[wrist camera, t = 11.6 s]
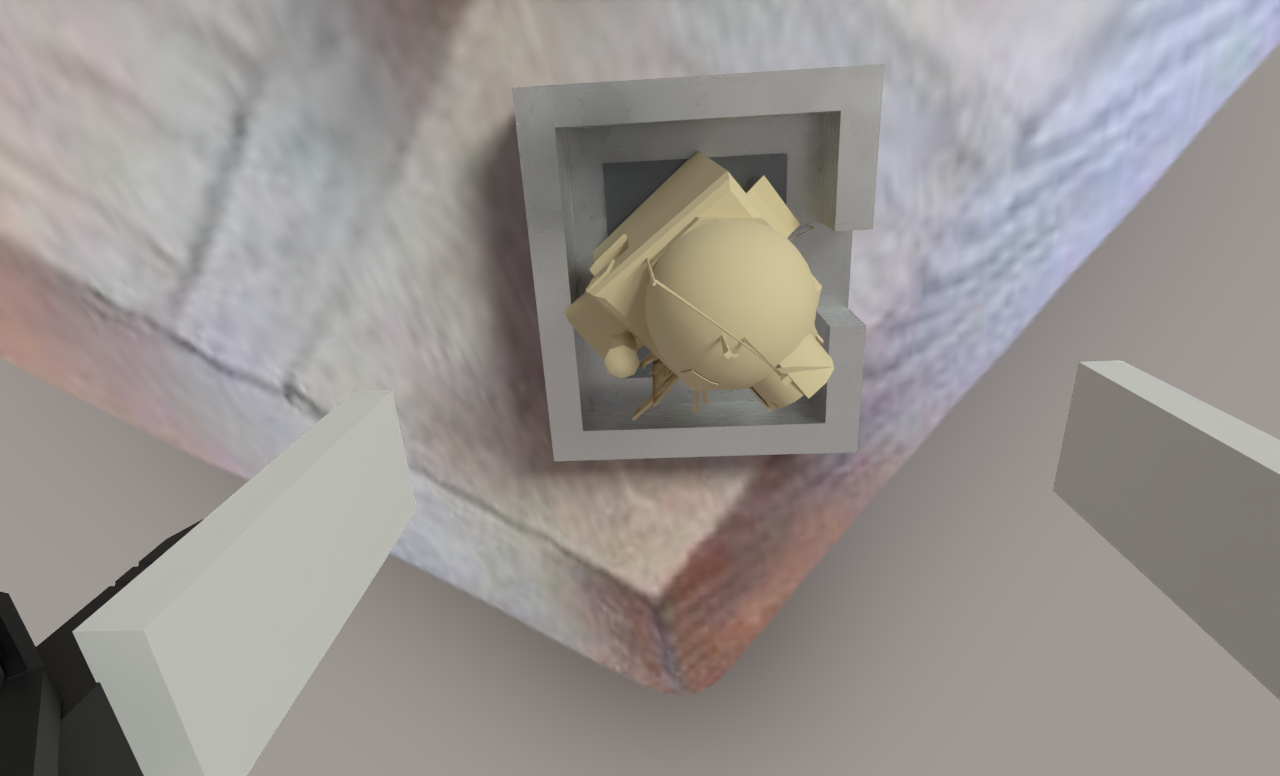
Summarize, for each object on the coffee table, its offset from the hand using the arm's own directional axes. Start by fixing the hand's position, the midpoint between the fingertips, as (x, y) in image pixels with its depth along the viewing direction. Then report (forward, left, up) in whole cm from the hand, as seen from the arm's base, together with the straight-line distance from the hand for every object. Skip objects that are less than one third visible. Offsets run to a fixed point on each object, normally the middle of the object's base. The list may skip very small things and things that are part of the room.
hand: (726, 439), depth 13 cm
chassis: (0, 0, -20) cm, 20 cm away
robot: (0, 0, -18) cm, 18 cm away
